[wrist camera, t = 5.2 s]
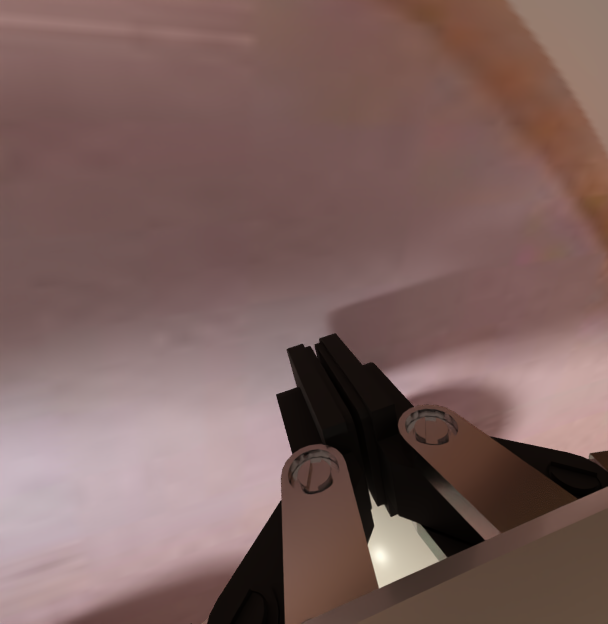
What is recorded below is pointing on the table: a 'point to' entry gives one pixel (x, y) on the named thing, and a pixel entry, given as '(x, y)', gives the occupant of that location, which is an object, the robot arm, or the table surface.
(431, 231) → the table surface
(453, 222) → the table surface
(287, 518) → the robot arm
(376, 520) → the cream ball
